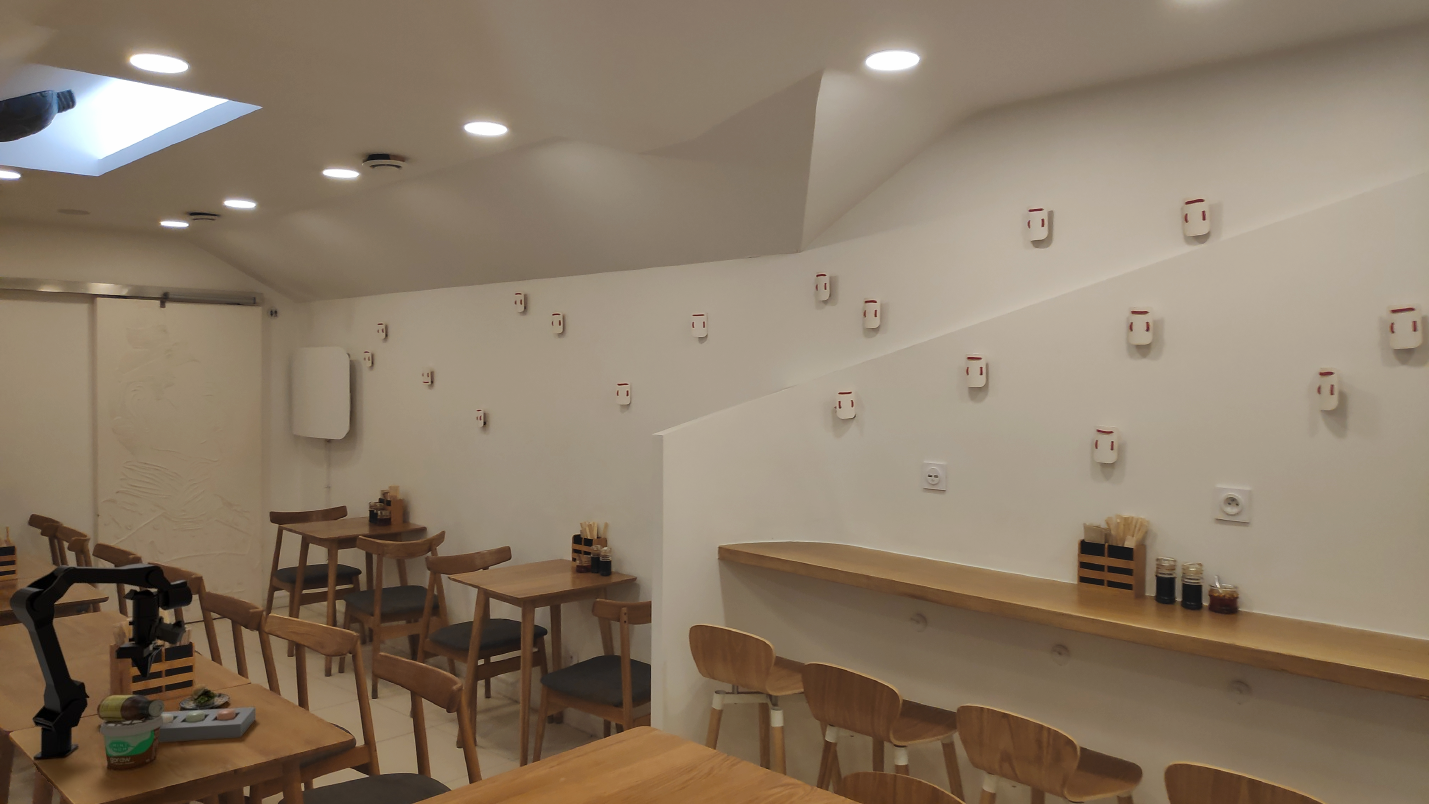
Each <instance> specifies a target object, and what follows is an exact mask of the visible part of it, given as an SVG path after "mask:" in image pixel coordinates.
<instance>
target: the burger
mask: <svg viewBox="0 0 1429 804" xmlns="http://www.w3.org/2000/svg"><path fill="white" fill-rule="evenodd" d="M193 681H194V683H196V682H195V680H194V679H193ZM207 686H208V684H206V683H200V684H197V685H195V686H194V687H193V688H192V690H191V693H190V697H187V698H185V699H183V700H181V701H179V708H178V711H191V710H210V709H215V708H217V707H220V706H222V705H223V704H225V703H226V702H228V700H229V699H231V697H230V696H229V695H228V694H225V693H223V692H220V693H219V692H218V693H215V692H214V691H212V690H211V689H208V688H207Z"/></svg>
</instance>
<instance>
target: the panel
mask: <svg viewBox="0 0 1429 804" xmlns="http://www.w3.org/2000/svg"><path fill="white" fill-rule="evenodd" d="M225 709H226V708H210V709H207V710H191V711H179V710H178V711H177V710H176V711H163V713H162V714H172V715H173V722H172V723H164V724H163V725H162V726H160V731H159V739H158V743H168V742H183V741H184V742H185V741H186V742H188V741H200V740H201V741H202V740H216V739H217V740H218V739H219V740H220V739H233V738H234V739H235V738H241V737H242V736H243V735H244V734H245V732H246V731H247V730H248V729H249V727H250V726H251V725H252V724H253V723H254V722H255V721H256V706H251V707H249V706H247V707H231V708H227V709H234V710H235V719H234V720H217V712H219V711H221V710H225ZM193 711H204V712H205V719H204V720H203V721H199V722H186V714H187V713H189V712H193ZM162 714H161V715H162ZM153 719H154V717H150V716H147V717H145V718H144V719H142V720H153ZM254 720H255V721H254Z"/></svg>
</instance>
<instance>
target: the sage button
mask: <svg viewBox="0 0 1429 804" xmlns="http://www.w3.org/2000/svg"><path fill="white" fill-rule="evenodd" d="M204 719H205V712H204V711H193V712H189V713H187V714H186V722H199V721H203V720H204Z"/></svg>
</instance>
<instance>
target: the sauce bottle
mask: <svg viewBox="0 0 1429 804" xmlns="http://www.w3.org/2000/svg"><path fill="white" fill-rule="evenodd" d="M165 705H166V704H165V703H164V701H163V700H162V699H157V698H155V699H149V698H148V697H147V696H145V695H142V694H115V695H114V694H112V695H109V696H106V697H103V699H102V700H101V701H100V702H99V703H98V705H97V708H96V712H97V716H98V718H99V719H100V720H102V721H103V720H104V719H105V722H123V721H127V720H143V719H144V718H145V717H147V716H150V717H157V716H159V715H161V714H162V713H163V712H165V711H164V710H165V708H166V707H165Z"/></svg>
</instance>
